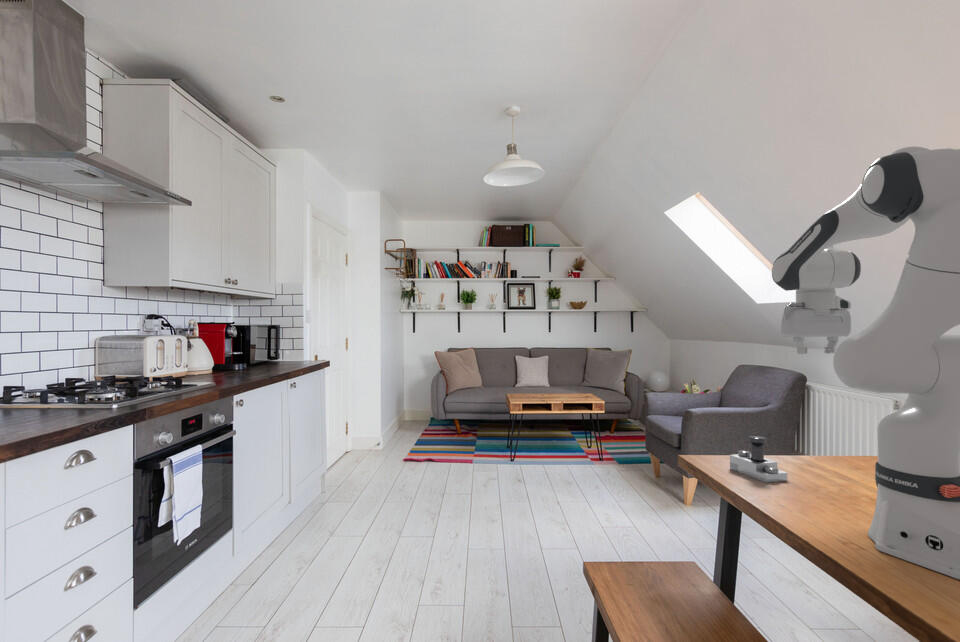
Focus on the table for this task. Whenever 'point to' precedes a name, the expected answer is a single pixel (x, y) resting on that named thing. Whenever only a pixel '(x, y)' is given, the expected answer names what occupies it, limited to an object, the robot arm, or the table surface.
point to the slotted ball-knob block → (756, 468)
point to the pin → (757, 448)
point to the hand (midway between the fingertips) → (816, 353)
